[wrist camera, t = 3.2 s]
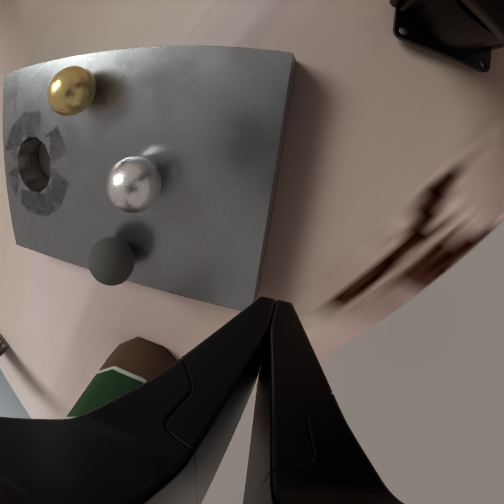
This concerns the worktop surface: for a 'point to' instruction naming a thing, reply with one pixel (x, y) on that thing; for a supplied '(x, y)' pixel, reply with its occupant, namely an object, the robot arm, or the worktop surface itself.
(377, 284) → the worktop surface
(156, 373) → the beer bottle
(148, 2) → the worktop surface
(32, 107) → the plate
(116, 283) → the black ball
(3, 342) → the box
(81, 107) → the brass ball
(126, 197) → the steel ball
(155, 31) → the worktop surface
